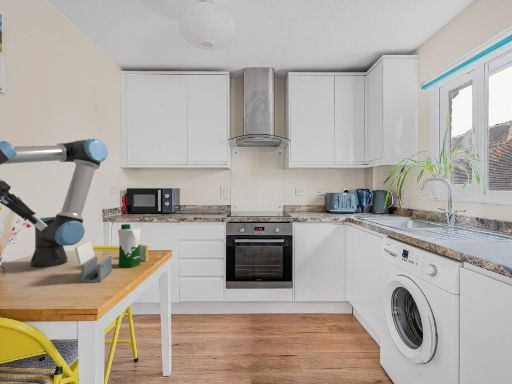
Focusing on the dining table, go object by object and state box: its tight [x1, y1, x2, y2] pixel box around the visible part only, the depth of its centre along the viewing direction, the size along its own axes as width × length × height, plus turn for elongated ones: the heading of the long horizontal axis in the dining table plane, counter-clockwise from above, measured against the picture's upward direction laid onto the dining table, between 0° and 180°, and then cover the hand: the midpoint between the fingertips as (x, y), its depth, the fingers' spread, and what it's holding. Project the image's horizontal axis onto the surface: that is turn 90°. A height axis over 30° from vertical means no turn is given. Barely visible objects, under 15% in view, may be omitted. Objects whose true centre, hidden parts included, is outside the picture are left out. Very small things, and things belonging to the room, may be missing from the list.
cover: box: [74, 240, 96, 266], centre depth 127 cm, size 16×7×1 cm
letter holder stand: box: [80, 255, 113, 284], centre depth 128 cm, size 16×8×7 cm, turn 11°
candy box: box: [140, 244, 150, 263], centre depth 161 cm, size 16×2×8 cm, turn 58°
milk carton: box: [117, 223, 142, 269], centre depth 147 cm, size 9×9×20 cm
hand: (44, 228), depth 122 cm, fingers closed
